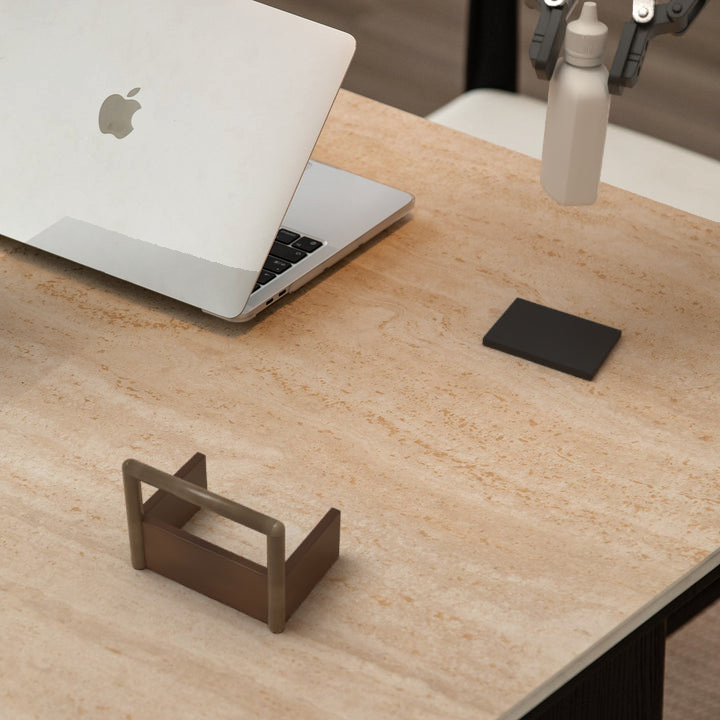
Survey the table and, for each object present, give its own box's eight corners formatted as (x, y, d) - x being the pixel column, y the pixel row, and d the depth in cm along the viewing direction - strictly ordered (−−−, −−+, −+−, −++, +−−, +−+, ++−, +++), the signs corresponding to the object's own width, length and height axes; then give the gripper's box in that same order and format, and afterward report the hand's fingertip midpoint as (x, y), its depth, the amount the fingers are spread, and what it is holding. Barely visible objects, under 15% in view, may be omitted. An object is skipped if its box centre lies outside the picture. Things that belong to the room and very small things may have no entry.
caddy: (128, 565, 68) (117, 462, 63) (197, 495, 72) (192, 395, 68) (279, 635, 64) (278, 531, 60) (342, 557, 69) (345, 455, 64)
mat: (481, 344, 86) (482, 337, 85) (516, 303, 90) (517, 296, 90) (590, 381, 83) (592, 374, 82) (621, 337, 87) (622, 330, 87)
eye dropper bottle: (612, 174, 80) (638, -7, 73) (590, 215, 76) (615, 26, 69) (547, 162, 82) (566, -18, 74) (521, 200, 77) (539, 14, 70)
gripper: (540, -237, 73) (451, 32, 71) (786, -206, 69) (698, 81, 67) (555, -162, 80) (475, 84, 78) (779, -130, 76) (699, 131, 74)
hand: (578, 81), depth 73 cm, fingers closed on eye dropper bottle, 3 cm apart
